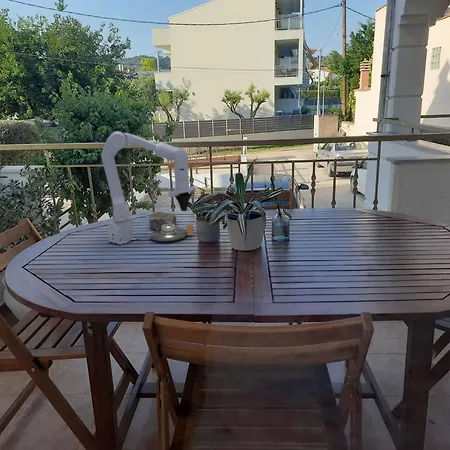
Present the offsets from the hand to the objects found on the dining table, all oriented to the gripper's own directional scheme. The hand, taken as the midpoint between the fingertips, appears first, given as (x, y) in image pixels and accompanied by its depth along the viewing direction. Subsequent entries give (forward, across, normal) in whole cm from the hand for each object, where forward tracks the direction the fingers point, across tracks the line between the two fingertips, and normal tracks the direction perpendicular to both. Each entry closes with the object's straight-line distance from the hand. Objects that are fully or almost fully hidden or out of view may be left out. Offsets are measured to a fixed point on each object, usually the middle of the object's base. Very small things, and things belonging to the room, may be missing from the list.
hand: (184, 210), depth 169 cm
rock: (+11, +3, +18) cm, 21 cm away
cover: (+8, -8, +2) cm, 11 cm away
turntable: (+9, -7, +1) cm, 12 cm away
